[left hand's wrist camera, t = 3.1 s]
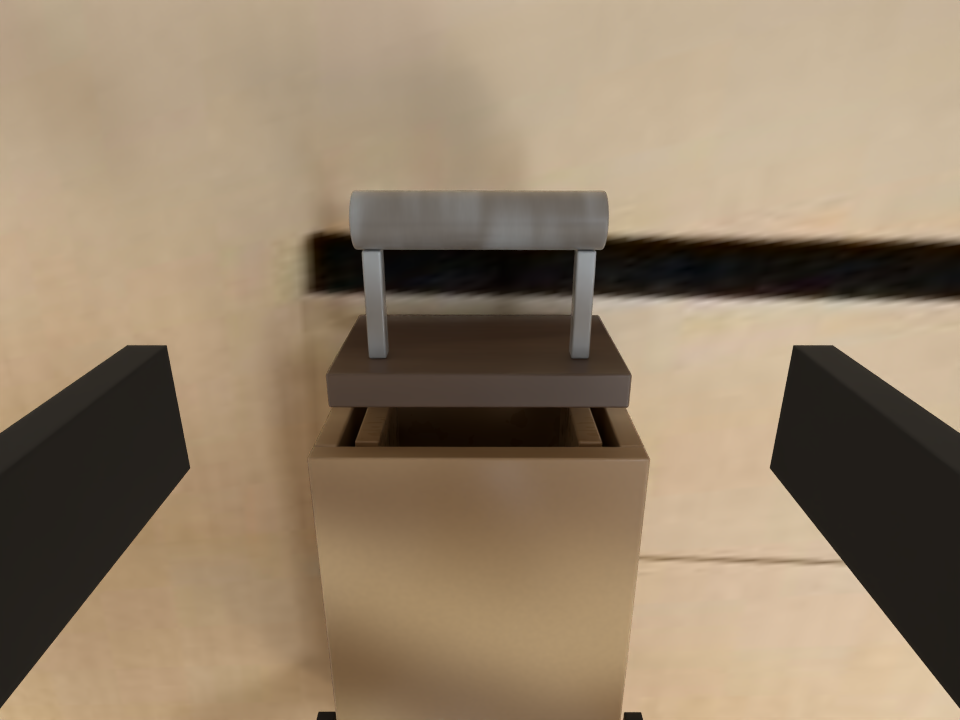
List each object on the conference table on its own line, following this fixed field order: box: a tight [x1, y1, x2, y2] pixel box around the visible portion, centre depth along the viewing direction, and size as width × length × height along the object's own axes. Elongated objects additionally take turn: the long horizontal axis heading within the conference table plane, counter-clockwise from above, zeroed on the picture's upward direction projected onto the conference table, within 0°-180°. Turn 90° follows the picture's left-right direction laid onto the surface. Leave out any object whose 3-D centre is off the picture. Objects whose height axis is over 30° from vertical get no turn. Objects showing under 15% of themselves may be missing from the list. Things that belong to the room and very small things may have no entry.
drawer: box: [326, 191, 632, 447], centre depth 26 cm, size 25×10×6 cm, turn 0°
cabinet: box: [307, 407, 650, 720], centre depth 28 cm, size 20×11×8 cm, turn 0°
